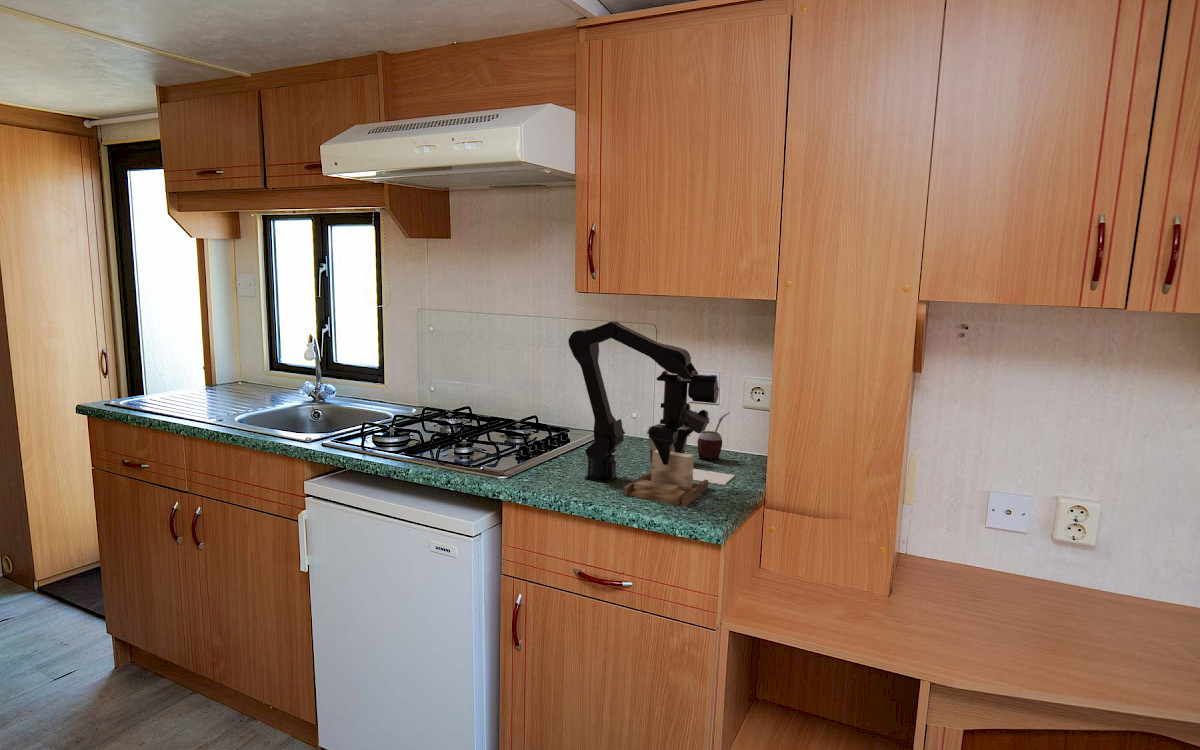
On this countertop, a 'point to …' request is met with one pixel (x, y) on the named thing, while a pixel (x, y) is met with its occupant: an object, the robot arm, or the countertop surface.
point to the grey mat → (711, 477)
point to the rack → (690, 492)
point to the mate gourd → (710, 443)
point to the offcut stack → (657, 491)
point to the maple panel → (673, 469)
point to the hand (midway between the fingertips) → (672, 460)
